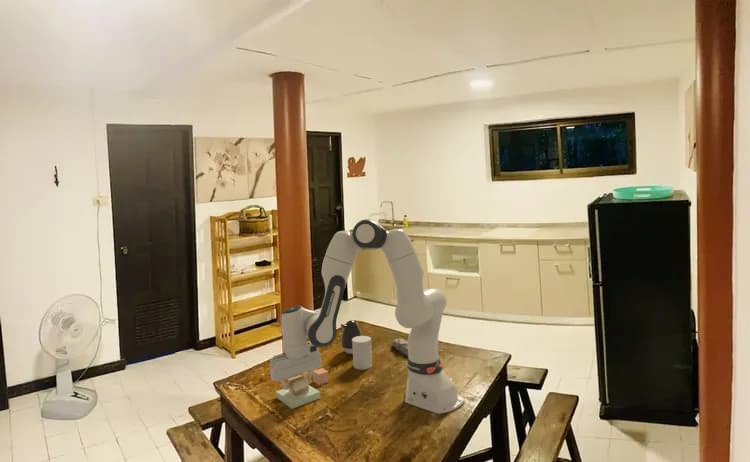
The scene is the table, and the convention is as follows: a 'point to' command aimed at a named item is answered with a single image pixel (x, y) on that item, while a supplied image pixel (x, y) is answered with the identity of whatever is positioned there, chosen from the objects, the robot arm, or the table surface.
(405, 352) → the elongated rock
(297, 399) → the sage base
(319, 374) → the terracotta block
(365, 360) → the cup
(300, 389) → the beech block
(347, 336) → the pump dispenser
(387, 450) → the table surface
